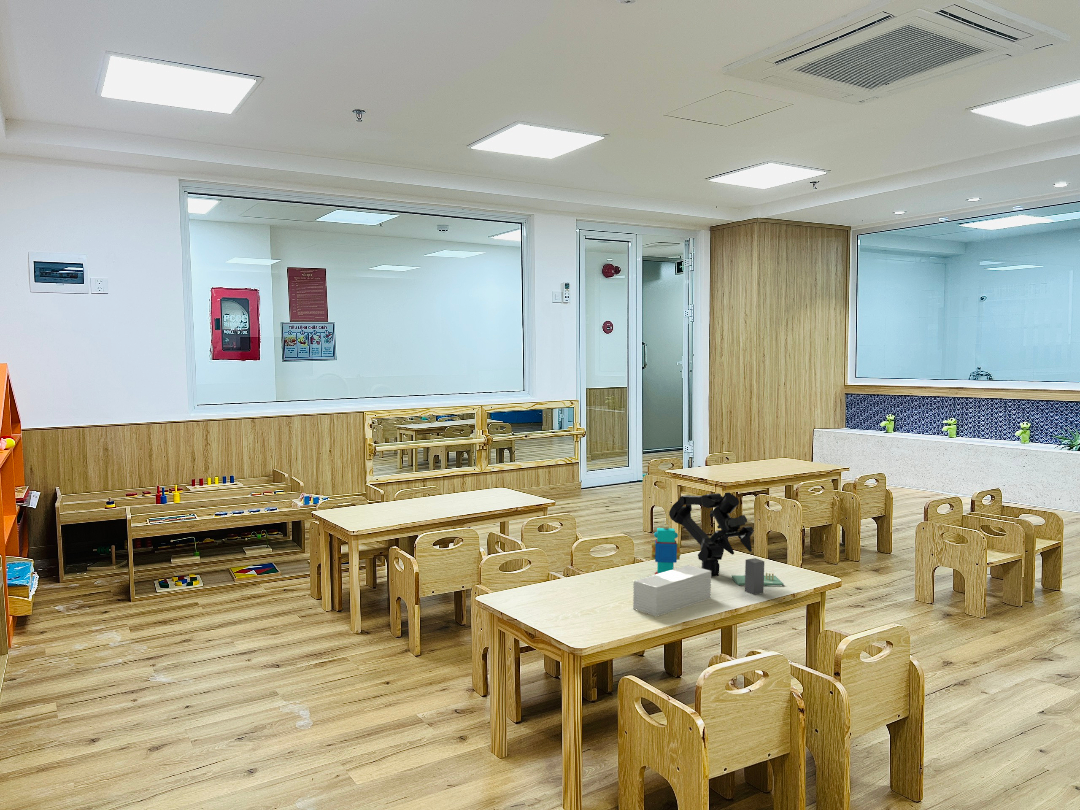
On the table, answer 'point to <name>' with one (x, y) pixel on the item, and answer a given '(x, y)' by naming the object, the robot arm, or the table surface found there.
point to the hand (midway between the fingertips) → (742, 552)
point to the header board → (767, 579)
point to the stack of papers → (671, 590)
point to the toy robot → (665, 549)
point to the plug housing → (754, 576)
